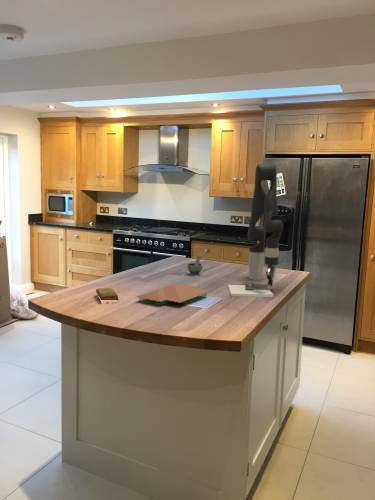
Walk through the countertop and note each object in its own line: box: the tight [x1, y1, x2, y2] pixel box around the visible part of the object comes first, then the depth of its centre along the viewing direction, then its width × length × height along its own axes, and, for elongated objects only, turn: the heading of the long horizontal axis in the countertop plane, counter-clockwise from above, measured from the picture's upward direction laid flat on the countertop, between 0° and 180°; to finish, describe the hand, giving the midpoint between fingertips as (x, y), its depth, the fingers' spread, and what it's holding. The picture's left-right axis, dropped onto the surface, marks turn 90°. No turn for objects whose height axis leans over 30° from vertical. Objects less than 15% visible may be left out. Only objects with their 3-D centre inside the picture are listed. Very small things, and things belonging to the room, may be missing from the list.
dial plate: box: [227, 284, 274, 298], centre depth 235 cm, size 20×22×2 cm
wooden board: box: [136, 283, 209, 305], centre depth 217 cm, size 23×33×8 cm
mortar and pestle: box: [186, 255, 203, 276], centre depth 276 cm, size 11×9×12 cm
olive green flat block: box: [95, 287, 119, 301], centre depth 215 cm, size 8×16×4 cm, turn 21°
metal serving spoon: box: [244, 282, 272, 290], centre depth 235 cm, size 14×5×3 cm, turn 90°
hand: (270, 286), depth 239 cm, fingers closed
